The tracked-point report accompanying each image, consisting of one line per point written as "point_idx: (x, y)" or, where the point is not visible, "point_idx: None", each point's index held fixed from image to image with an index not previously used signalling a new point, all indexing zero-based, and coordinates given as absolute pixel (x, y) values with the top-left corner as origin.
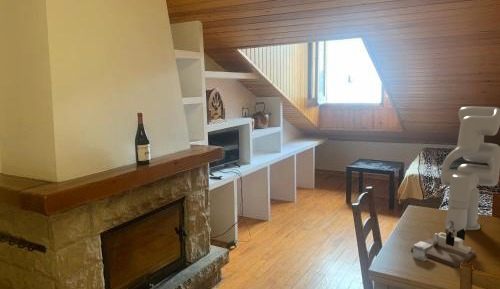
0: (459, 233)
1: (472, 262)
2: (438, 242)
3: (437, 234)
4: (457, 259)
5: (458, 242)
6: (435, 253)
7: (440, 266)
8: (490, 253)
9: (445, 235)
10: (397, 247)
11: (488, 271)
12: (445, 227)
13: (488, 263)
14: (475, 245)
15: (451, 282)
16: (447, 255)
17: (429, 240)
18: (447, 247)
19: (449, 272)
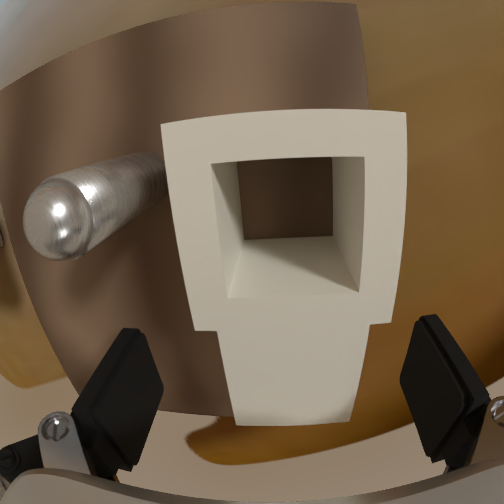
0: (435, 394)
1: None
2: (133, 218)
3: (39, 254)
4: None
5: (236, 419)
6: (45, 264)
7: (31, 322)
8: None
9: (358, 213)
10: (4, 21)
11: (202, 455)
12: (10, 490)
13: (286, 444)
14: (497, 317)
15: (16, 382)
16: (98, 334)
17: (239, 35)
18: None
19: (39, 365)
